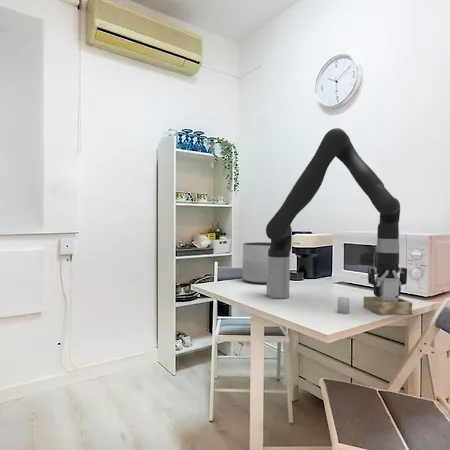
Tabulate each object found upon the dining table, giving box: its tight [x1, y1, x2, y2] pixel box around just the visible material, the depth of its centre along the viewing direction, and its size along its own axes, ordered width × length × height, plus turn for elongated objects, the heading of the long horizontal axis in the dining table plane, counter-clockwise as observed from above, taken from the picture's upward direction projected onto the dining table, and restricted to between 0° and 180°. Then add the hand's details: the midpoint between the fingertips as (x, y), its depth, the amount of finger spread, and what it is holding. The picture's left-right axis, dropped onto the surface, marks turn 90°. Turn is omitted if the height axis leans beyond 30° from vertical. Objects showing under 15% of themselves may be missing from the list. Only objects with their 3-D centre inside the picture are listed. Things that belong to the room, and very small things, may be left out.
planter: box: [241, 241, 271, 285], centre depth 180 cm, size 23×23×20 cm
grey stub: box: [337, 296, 350, 315], centre depth 120 cm, size 4×4×5 cm
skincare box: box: [377, 277, 399, 303], centre depth 123 cm, size 6×4×12 cm
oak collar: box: [363, 295, 413, 316], centre depth 123 cm, size 12×10×4 cm
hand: (387, 296), depth 123 cm, fingers open, 7 cm apart
